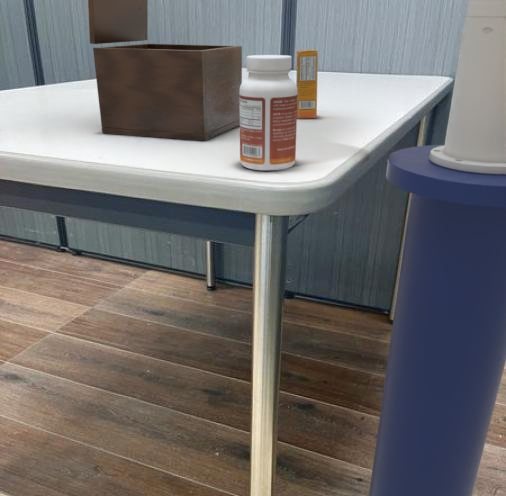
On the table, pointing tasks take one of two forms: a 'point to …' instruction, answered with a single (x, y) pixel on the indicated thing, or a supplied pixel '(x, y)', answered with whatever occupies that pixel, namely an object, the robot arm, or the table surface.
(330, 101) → the table surface
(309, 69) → the supplement box
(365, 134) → the table surface
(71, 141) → the table surface
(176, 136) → the chest
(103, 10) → the lid
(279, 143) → the pill bottle
